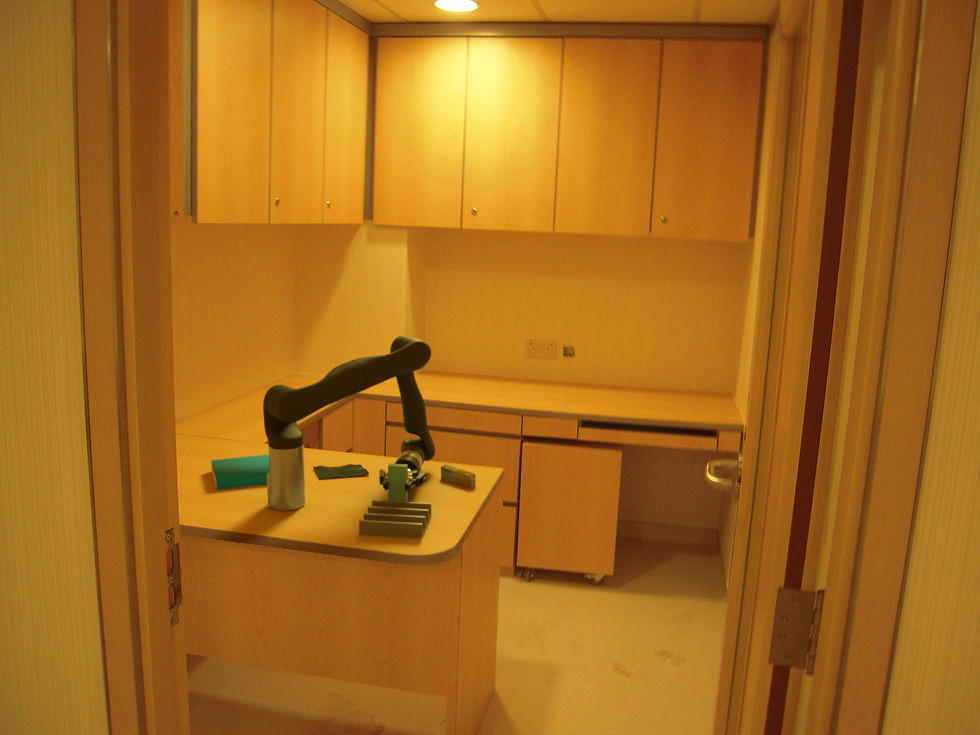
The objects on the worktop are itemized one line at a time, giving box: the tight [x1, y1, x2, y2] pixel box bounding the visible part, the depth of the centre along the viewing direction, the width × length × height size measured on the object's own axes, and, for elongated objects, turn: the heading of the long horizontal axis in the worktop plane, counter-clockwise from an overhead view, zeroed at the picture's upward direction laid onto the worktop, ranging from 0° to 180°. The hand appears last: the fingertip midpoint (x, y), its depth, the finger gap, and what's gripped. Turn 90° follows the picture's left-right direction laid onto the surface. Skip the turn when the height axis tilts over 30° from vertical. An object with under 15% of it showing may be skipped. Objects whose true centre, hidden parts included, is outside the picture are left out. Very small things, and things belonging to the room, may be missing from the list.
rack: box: [358, 499, 432, 539], centre depth 215 cm, size 16×15×4 cm
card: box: [387, 463, 409, 502], centre depth 226 cm, size 5×2×12 cm, turn 85°
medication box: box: [440, 464, 476, 488], centre depth 248 cm, size 12×3×4 cm, turn 51°
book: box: [210, 454, 269, 490], centre depth 249 cm, size 17×4×25 cm
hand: (396, 487), depth 224 cm, fingers closed on card, 5 cm apart
